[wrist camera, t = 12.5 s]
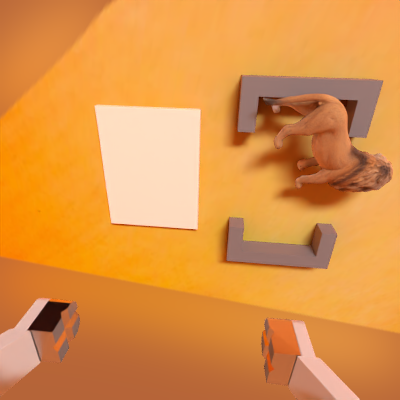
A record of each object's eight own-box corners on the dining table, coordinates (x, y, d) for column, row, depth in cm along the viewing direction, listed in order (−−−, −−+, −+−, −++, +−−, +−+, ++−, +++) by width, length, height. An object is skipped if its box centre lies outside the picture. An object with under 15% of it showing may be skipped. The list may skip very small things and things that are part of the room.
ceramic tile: (200, 108, 26) (200, 110, 26) (197, 226, 32) (197, 229, 31) (97, 104, 27) (94, 105, 26) (113, 220, 33) (111, 223, 32)
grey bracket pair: (371, 79, 24) (383, 80, 22) (321, 257, 32) (327, 268, 31) (241, 75, 24) (242, 76, 23) (226, 249, 33) (226, 260, 31)
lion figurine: (313, 176, 30) (395, 163, 25) (308, 209, 28) (396, 201, 23) (263, 85, 23) (362, 43, 18) (251, 119, 21) (360, 81, 16)
